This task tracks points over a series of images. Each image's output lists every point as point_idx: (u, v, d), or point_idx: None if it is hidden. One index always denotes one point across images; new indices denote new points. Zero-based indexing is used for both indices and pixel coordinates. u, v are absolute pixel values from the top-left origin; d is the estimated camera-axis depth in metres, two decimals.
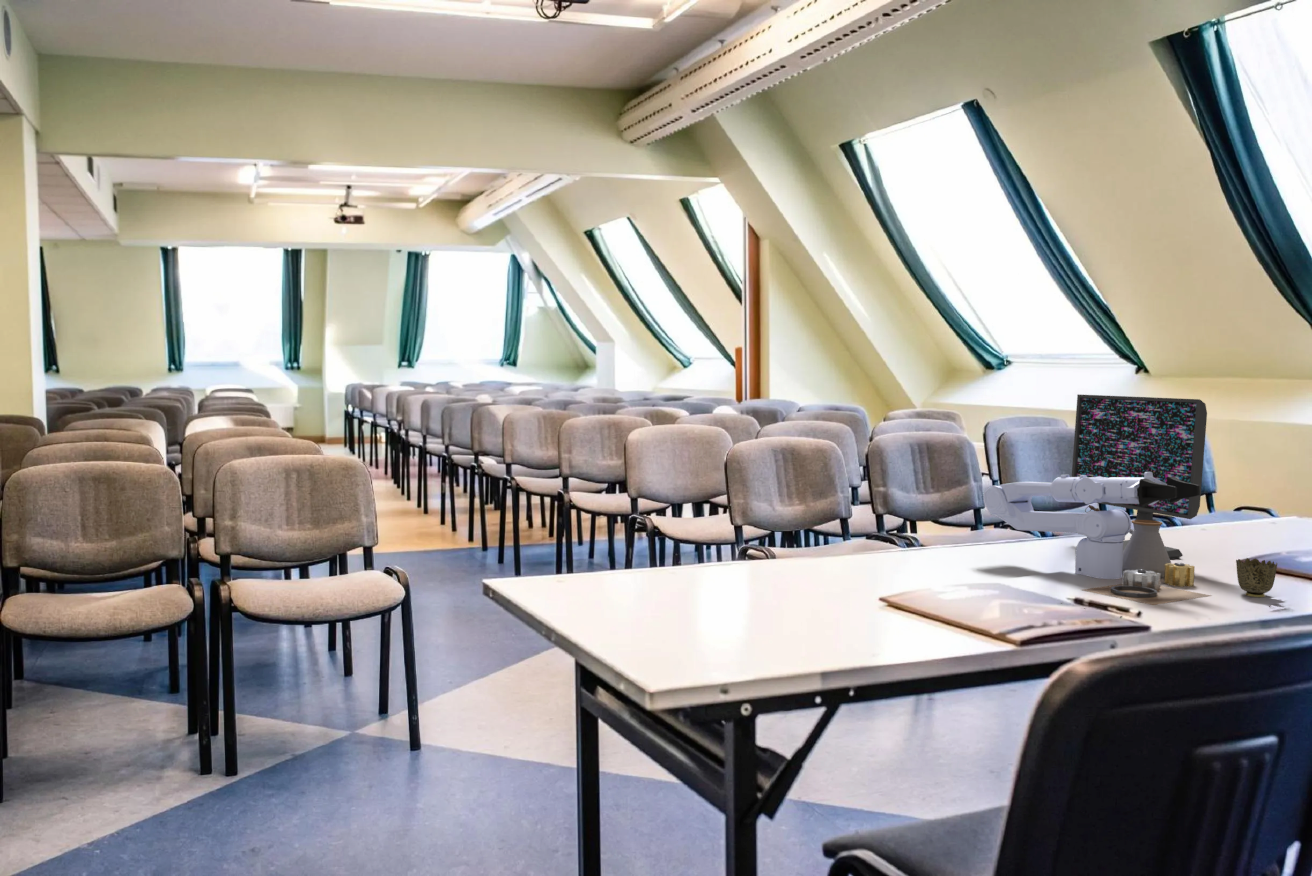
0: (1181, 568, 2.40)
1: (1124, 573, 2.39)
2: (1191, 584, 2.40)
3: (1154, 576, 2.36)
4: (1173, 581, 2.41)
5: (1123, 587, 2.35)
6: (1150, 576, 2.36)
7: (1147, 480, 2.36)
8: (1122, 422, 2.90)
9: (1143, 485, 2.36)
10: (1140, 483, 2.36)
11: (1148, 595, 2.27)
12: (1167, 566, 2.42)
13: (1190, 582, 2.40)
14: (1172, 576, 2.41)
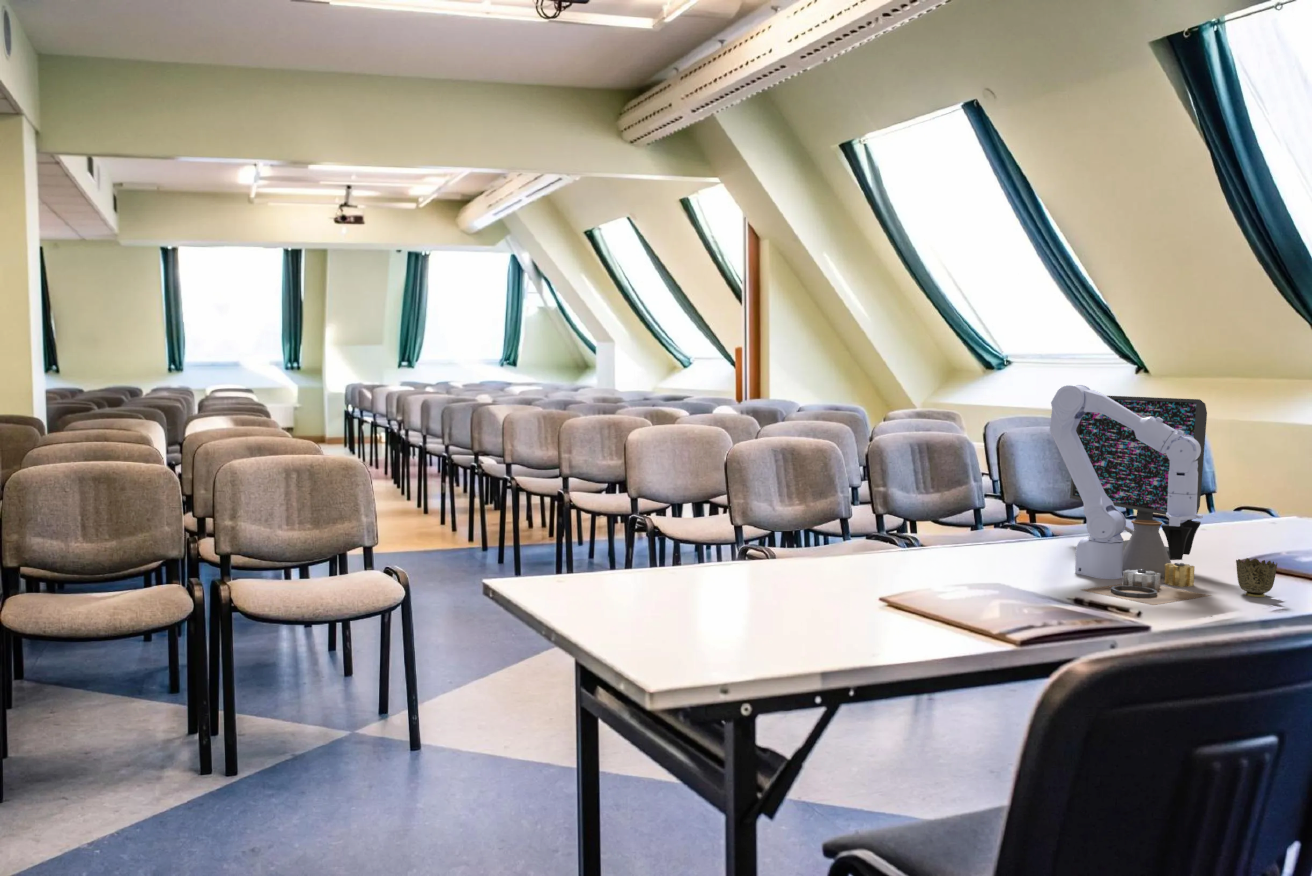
0: (1181, 568, 2.40)
1: (1124, 573, 2.39)
2: (1191, 584, 2.40)
3: (1154, 576, 2.36)
4: (1173, 581, 2.41)
5: (1123, 587, 2.35)
6: (1150, 576, 2.36)
7: (1188, 532, 2.37)
8: None
9: (1182, 531, 2.36)
10: (1184, 529, 2.36)
11: (1148, 595, 2.27)
12: (1167, 566, 2.42)
13: (1190, 582, 2.40)
14: (1172, 576, 2.41)
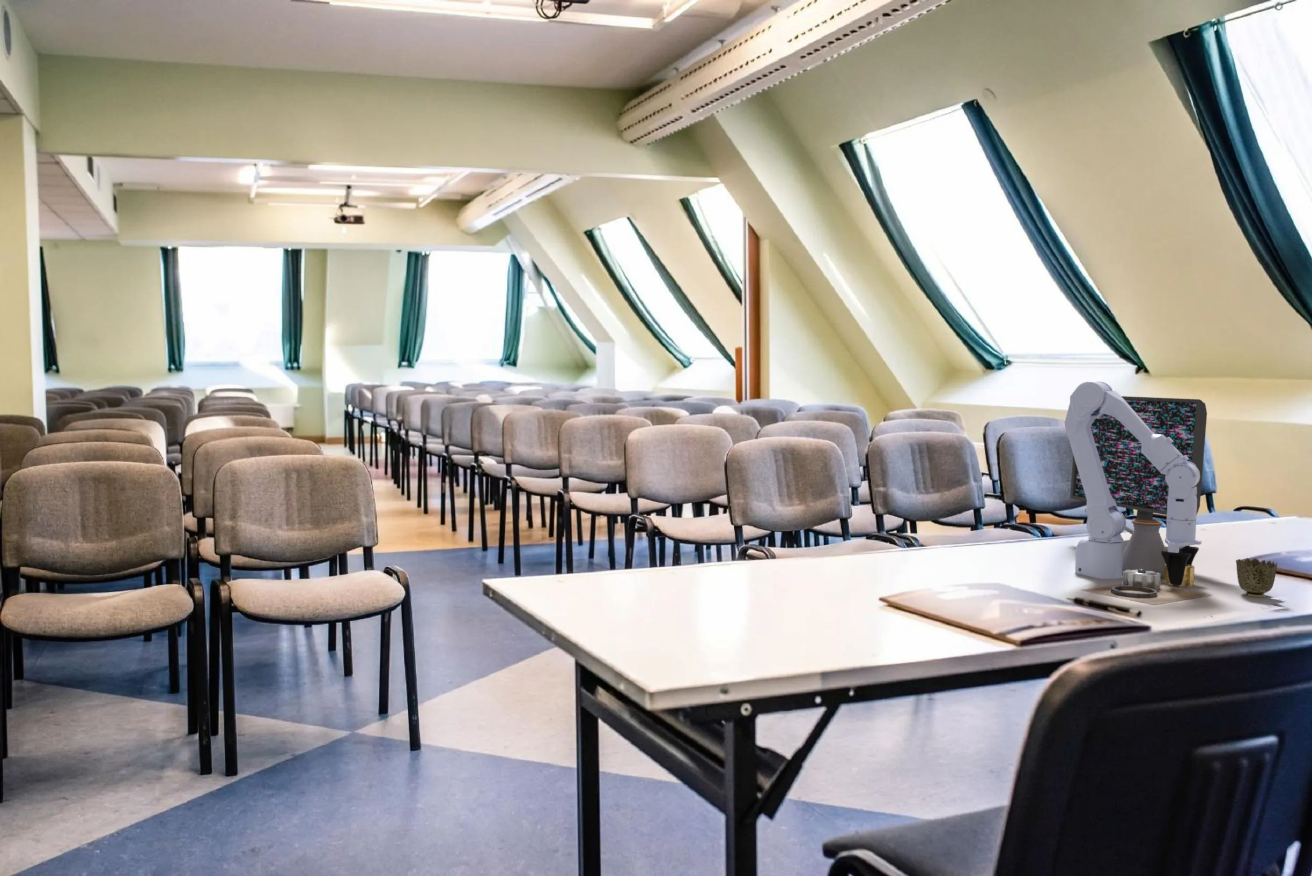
0: None
1: (1124, 573, 2.39)
2: (1191, 584, 2.40)
3: (1154, 576, 2.36)
4: None
5: (1123, 587, 2.35)
6: (1150, 576, 2.36)
7: (1188, 558, 2.38)
8: None
9: (1182, 557, 2.37)
10: (1184, 555, 2.37)
11: (1148, 595, 2.27)
12: None
13: (1190, 582, 2.40)
14: None
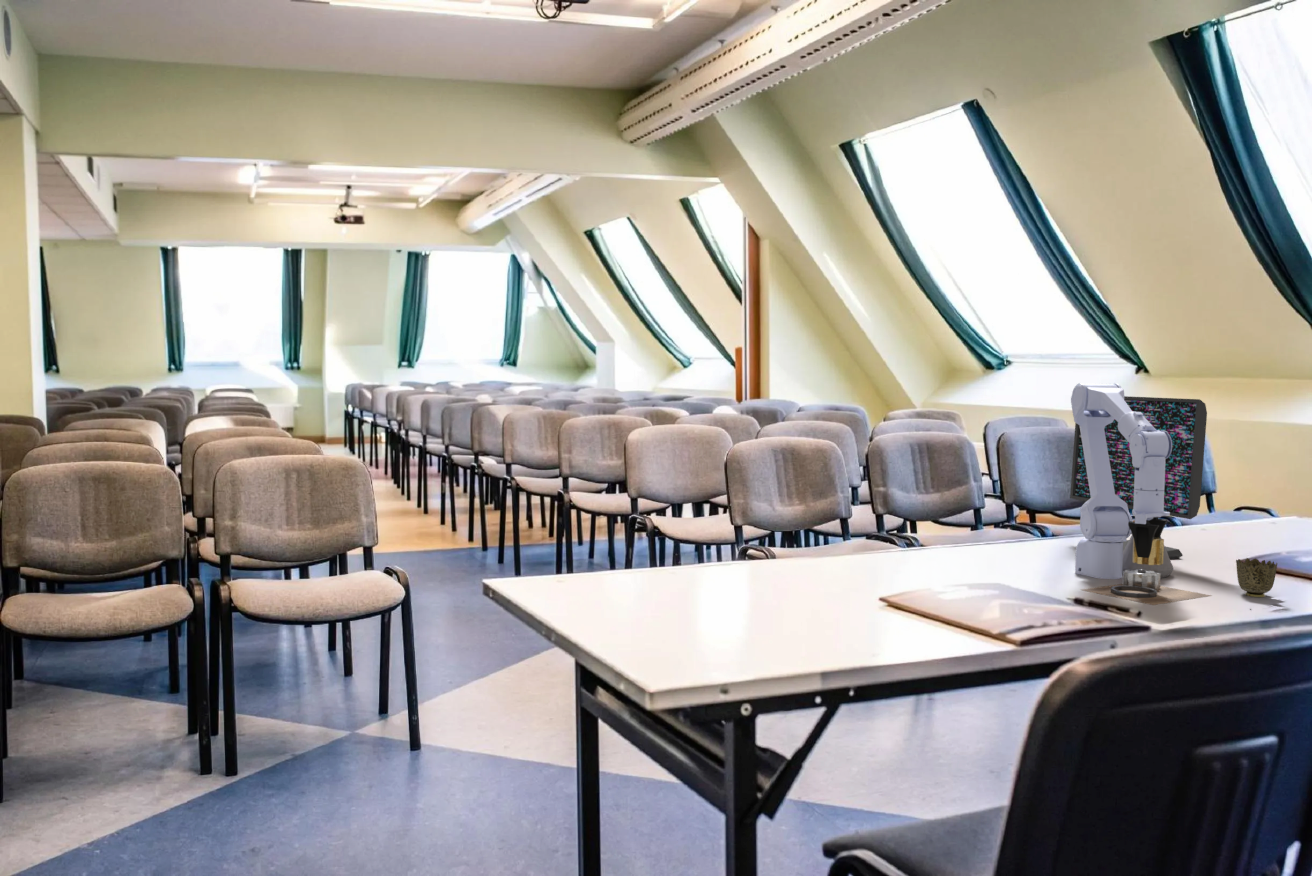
0: None
1: (1124, 573, 2.39)
2: (1161, 558, 2.31)
3: (1154, 576, 2.36)
4: None
5: (1123, 587, 2.35)
6: (1150, 576, 2.36)
7: (1156, 529, 2.28)
8: None
9: (1149, 529, 2.28)
10: (1151, 527, 2.28)
11: (1148, 595, 2.27)
12: None
13: (1159, 555, 2.31)
14: None
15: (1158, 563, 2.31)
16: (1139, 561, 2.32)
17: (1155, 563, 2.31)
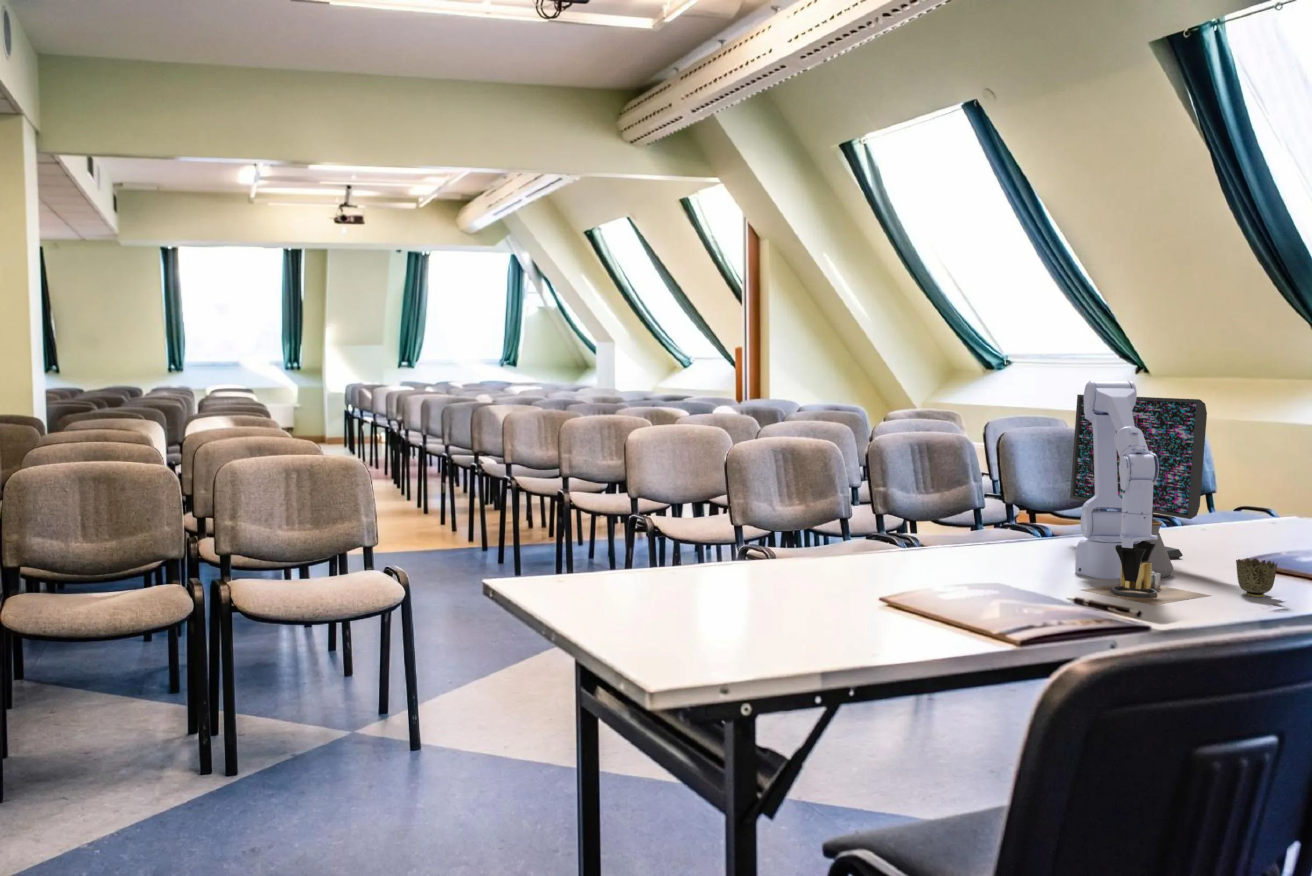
0: None
1: None
2: (1148, 582, 2.29)
3: (1154, 576, 2.36)
4: None
5: (1123, 587, 2.35)
6: None
7: (1143, 553, 2.26)
8: None
9: (1136, 553, 2.26)
10: (1138, 551, 2.25)
11: (1148, 595, 2.27)
12: None
13: (1147, 579, 2.28)
14: None
15: (1146, 587, 2.29)
16: (1126, 585, 2.30)
17: (1143, 587, 2.29)
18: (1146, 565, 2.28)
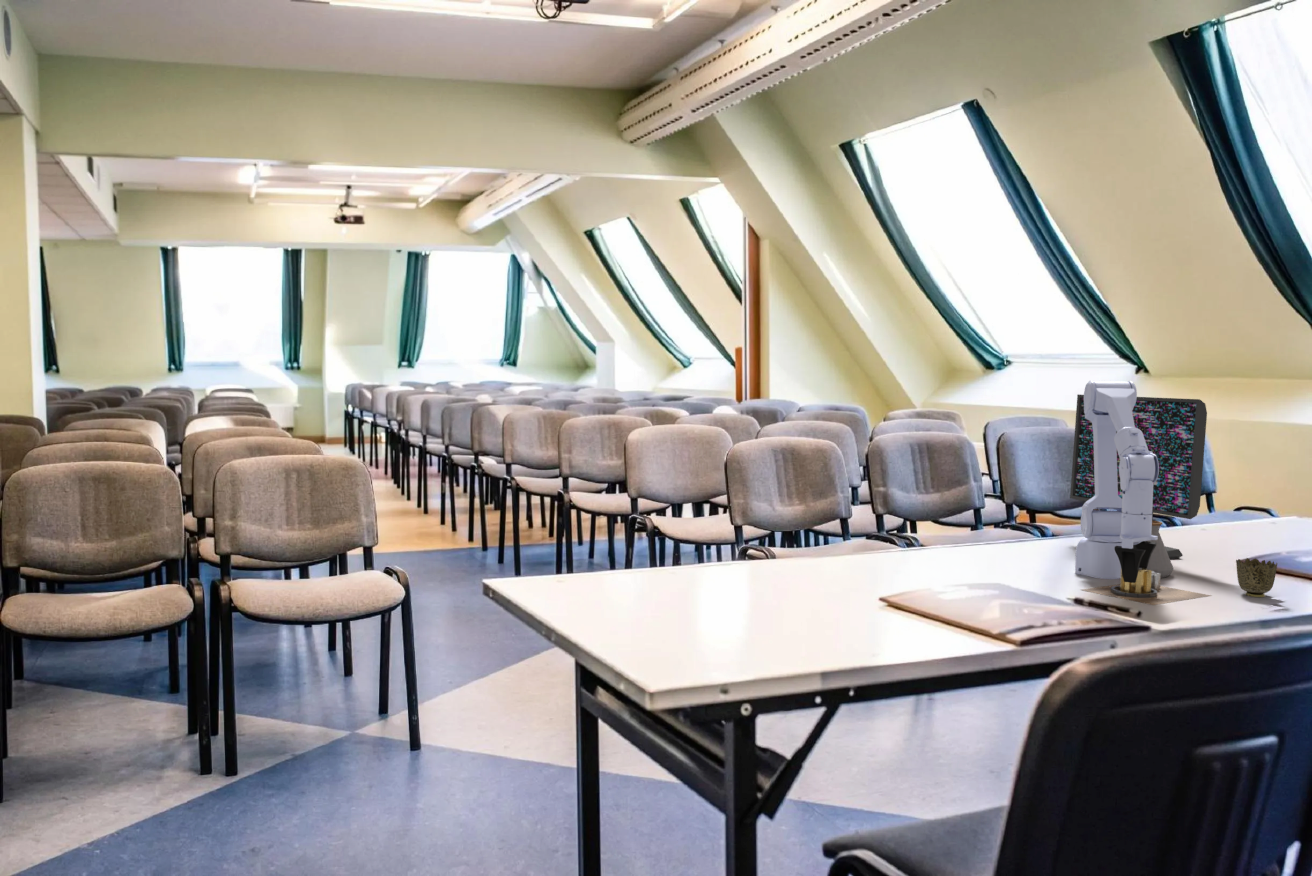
0: None
1: None
2: (1148, 589, 2.29)
3: (1154, 576, 2.36)
4: (1129, 586, 2.29)
5: None
6: None
7: (1142, 554, 2.26)
8: None
9: (1135, 554, 2.25)
10: (1137, 552, 2.25)
11: (1148, 595, 2.27)
12: None
13: (1146, 587, 2.28)
14: None
15: None
16: None
17: None
18: (1146, 572, 2.28)
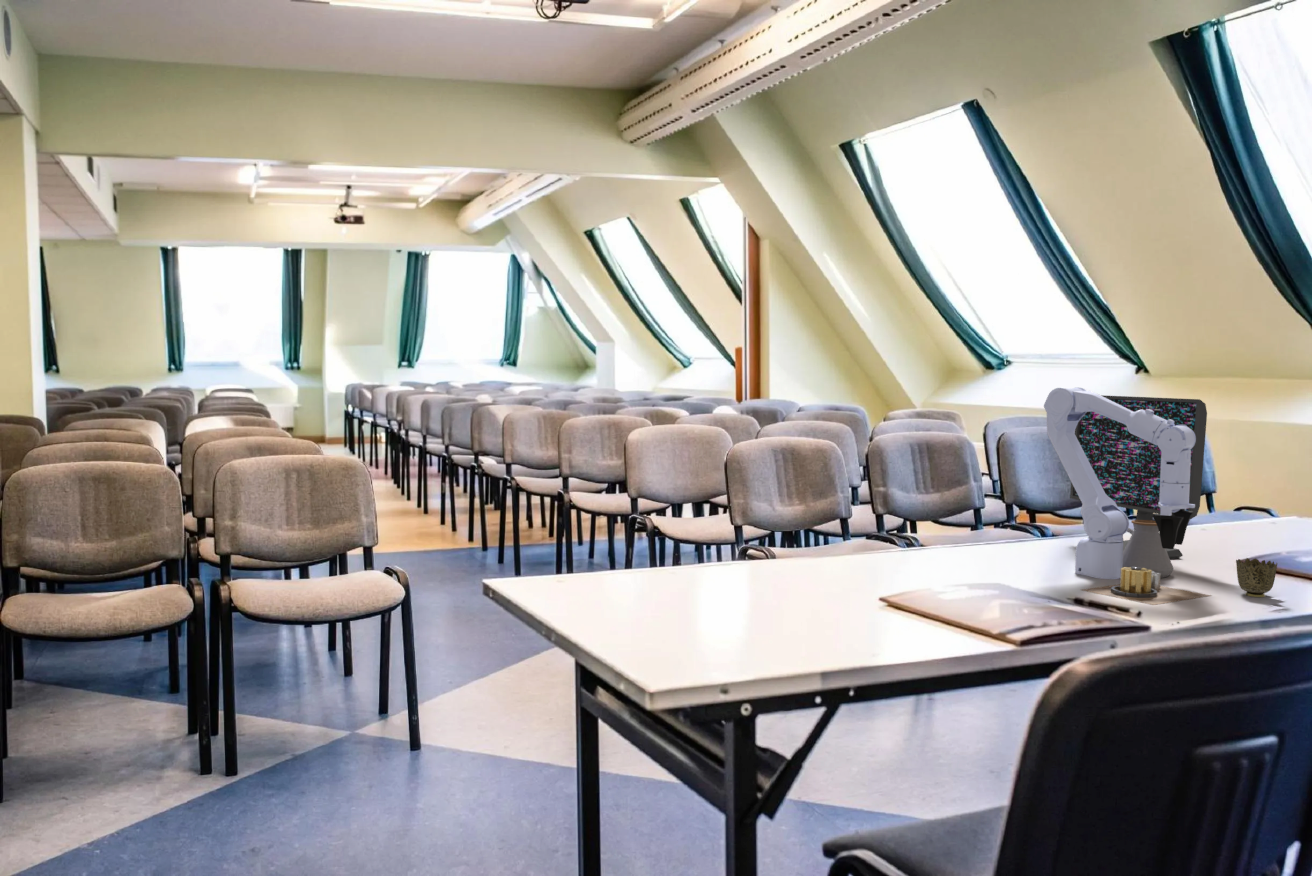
0: (1137, 572, 2.28)
1: None
2: (1148, 589, 2.29)
3: (1154, 576, 2.36)
4: (1129, 586, 2.29)
5: None
6: None
7: (1180, 521, 2.35)
8: None
9: (1174, 521, 2.34)
10: (1176, 519, 2.34)
11: (1148, 595, 2.27)
12: (1123, 570, 2.31)
13: (1146, 587, 2.28)
14: (1128, 581, 2.29)
15: None
16: None
17: None
18: (1146, 572, 2.28)
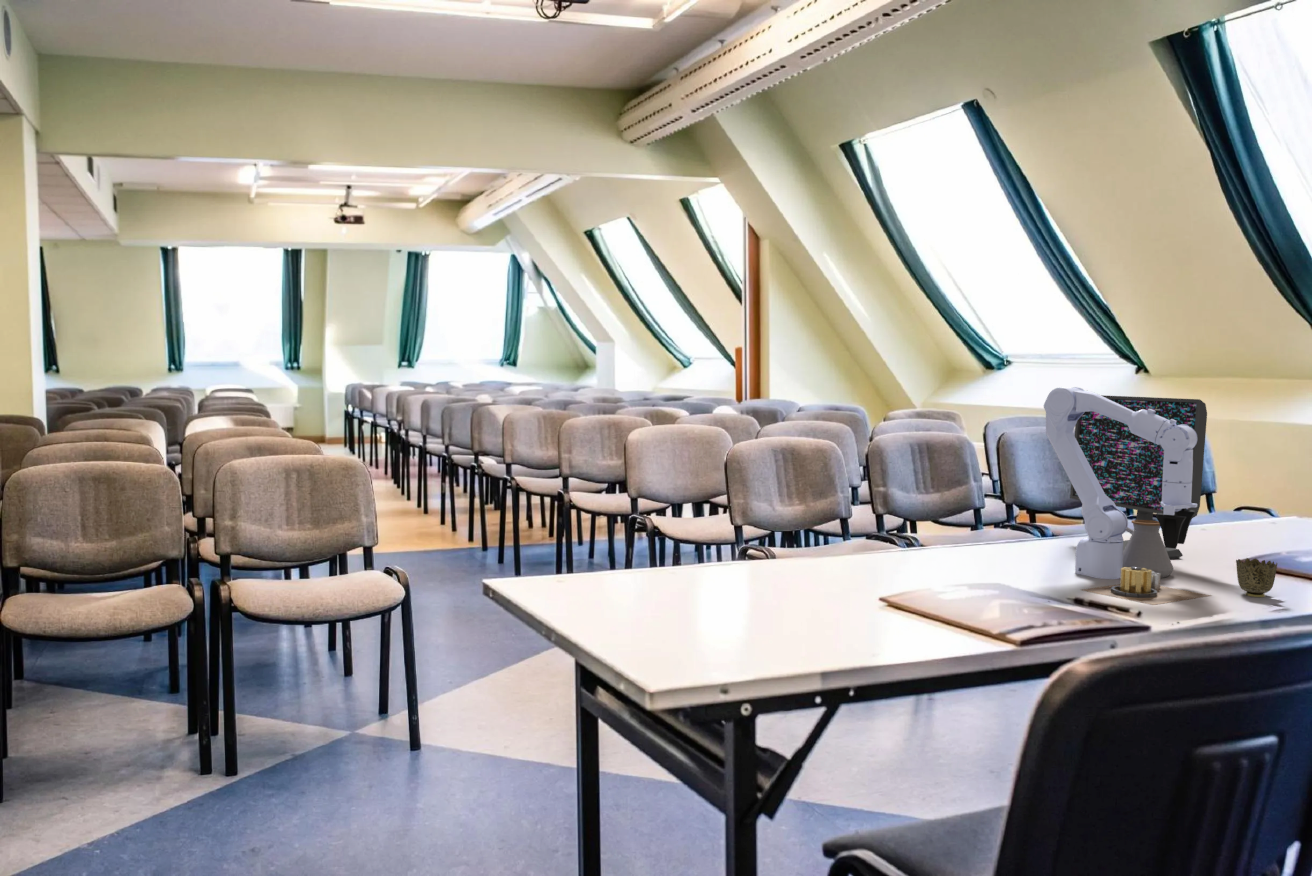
0: (1137, 572, 2.28)
1: None
2: (1148, 589, 2.29)
3: (1154, 576, 2.36)
4: (1129, 586, 2.29)
5: None
6: None
7: (1183, 521, 2.35)
8: None
9: (1176, 520, 2.35)
10: (1179, 518, 2.35)
11: (1148, 595, 2.27)
12: (1123, 570, 2.31)
13: (1146, 587, 2.28)
14: (1128, 581, 2.29)
15: None
16: None
17: None
18: (1146, 572, 2.28)
